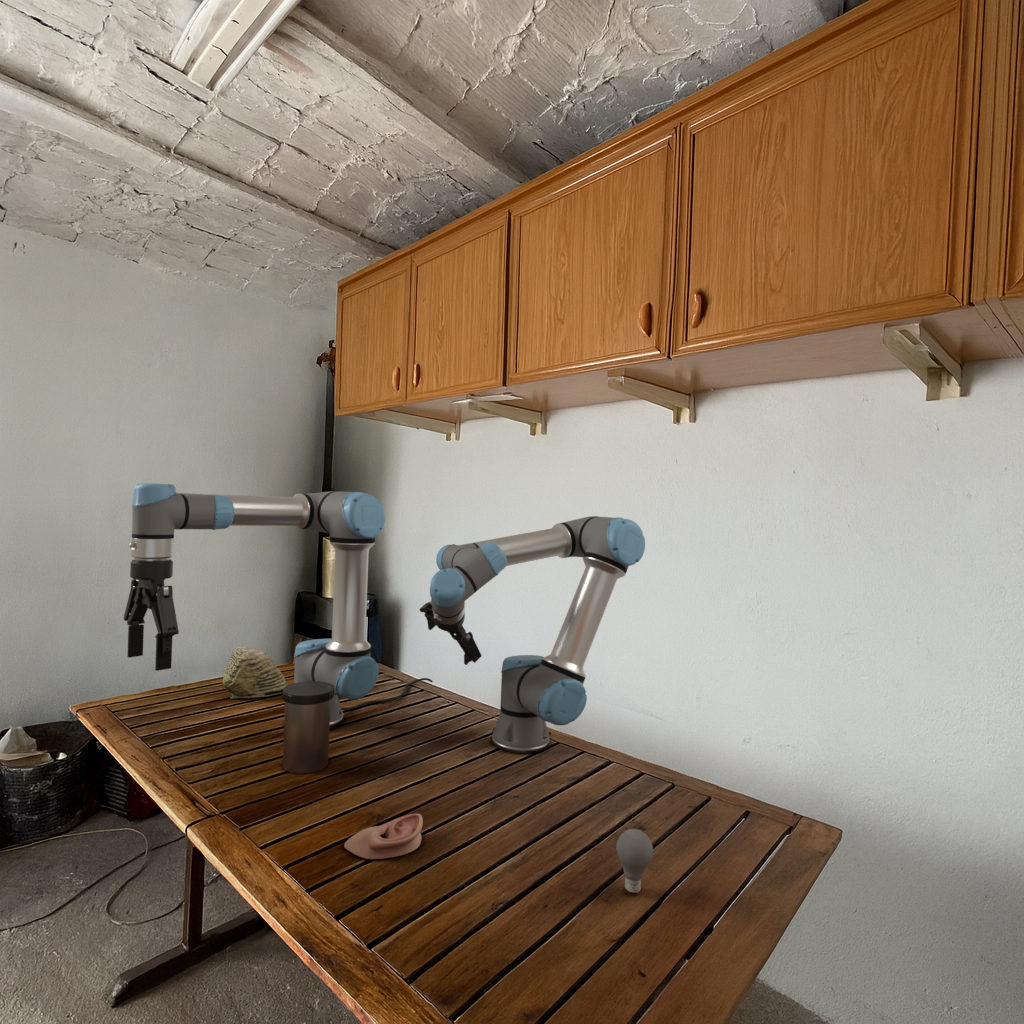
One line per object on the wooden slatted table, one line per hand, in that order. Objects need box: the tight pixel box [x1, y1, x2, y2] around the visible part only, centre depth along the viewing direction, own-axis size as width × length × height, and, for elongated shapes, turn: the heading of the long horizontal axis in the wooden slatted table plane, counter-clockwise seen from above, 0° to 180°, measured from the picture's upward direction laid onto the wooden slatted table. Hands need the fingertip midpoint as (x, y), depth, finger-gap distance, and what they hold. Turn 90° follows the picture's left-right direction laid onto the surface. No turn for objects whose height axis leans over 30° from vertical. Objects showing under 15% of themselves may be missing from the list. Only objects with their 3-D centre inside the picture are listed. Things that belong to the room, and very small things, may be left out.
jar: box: [282, 700, 331, 775], centre depth 149 cm, size 10×10×18 cm
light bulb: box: [615, 828, 654, 894], centre depth 106 cm, size 6×6×10 cm
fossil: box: [222, 646, 288, 699], centre depth 198 cm, size 9×18×15 cm, turn 132°
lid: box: [281, 681, 334, 705], centre depth 149 cm, size 12×12×2 cm
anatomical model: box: [343, 813, 424, 860], centre depth 117 cm, size 13×4×12 cm
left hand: (148, 662), depth 129 cm, fingers open, 13 cm apart
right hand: (450, 643), depth 167 cm, fingers open, 13 cm apart
